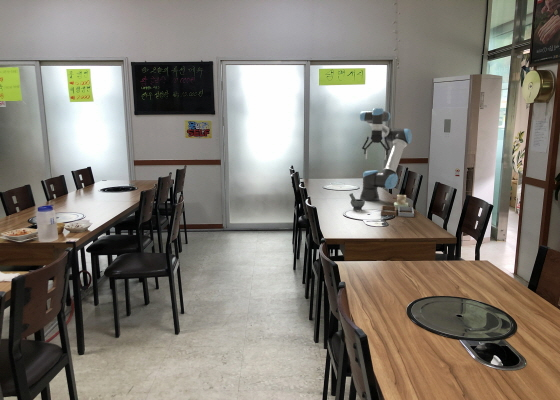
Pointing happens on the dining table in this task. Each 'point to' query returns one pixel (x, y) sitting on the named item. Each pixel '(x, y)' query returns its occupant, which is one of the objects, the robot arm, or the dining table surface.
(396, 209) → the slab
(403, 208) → the tray grey
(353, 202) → the mortar and pestle
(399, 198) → the letter cube
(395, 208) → the tray walnut
